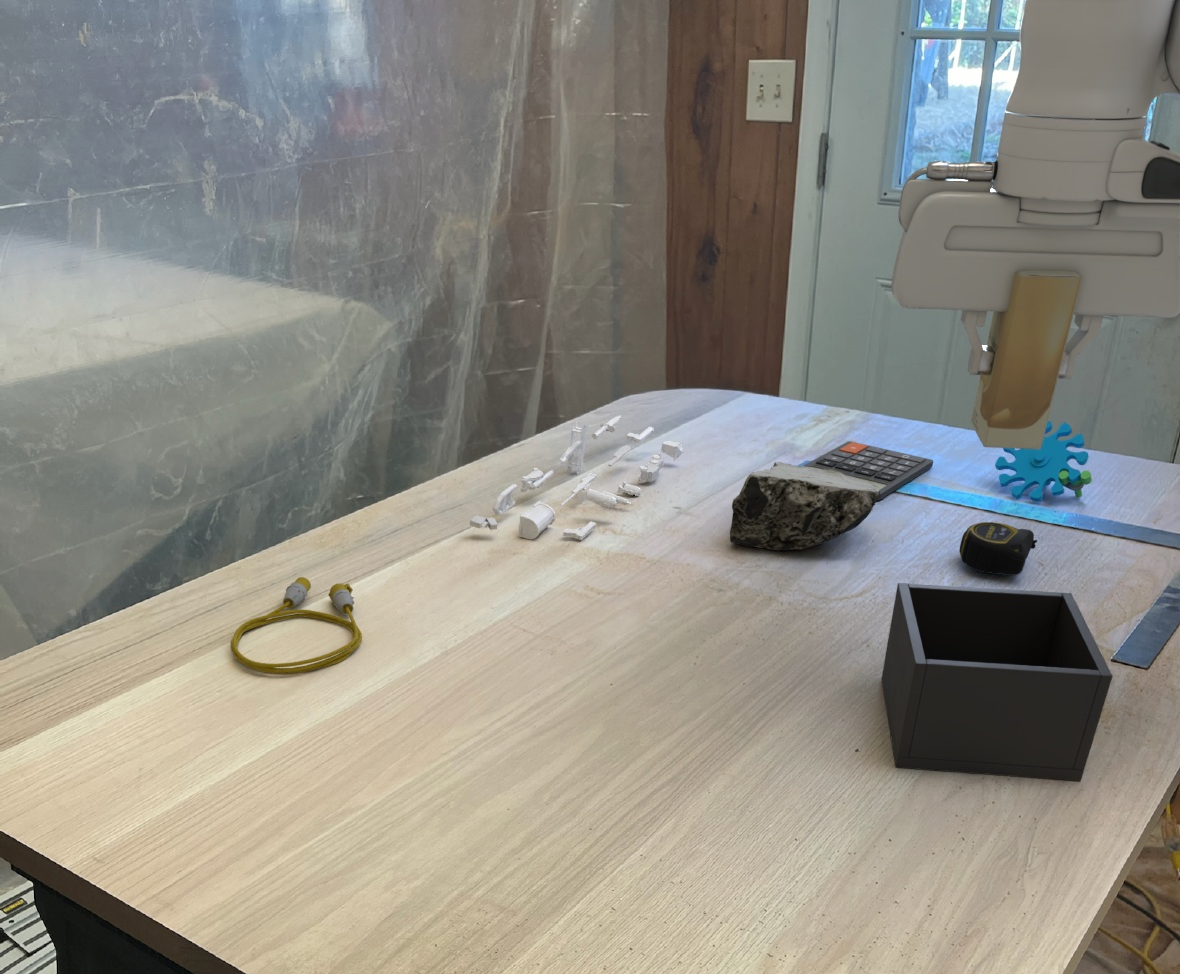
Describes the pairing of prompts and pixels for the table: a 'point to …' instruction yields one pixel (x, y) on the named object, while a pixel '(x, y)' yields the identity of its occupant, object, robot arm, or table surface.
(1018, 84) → the robot arm
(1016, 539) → the tape measure
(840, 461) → the calculator
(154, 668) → the table surface
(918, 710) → the open box
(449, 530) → the table surface
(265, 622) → the extension cord
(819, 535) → the concrete fragment
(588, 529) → the miniature set
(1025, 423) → the cosmetic box
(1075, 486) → the gear
